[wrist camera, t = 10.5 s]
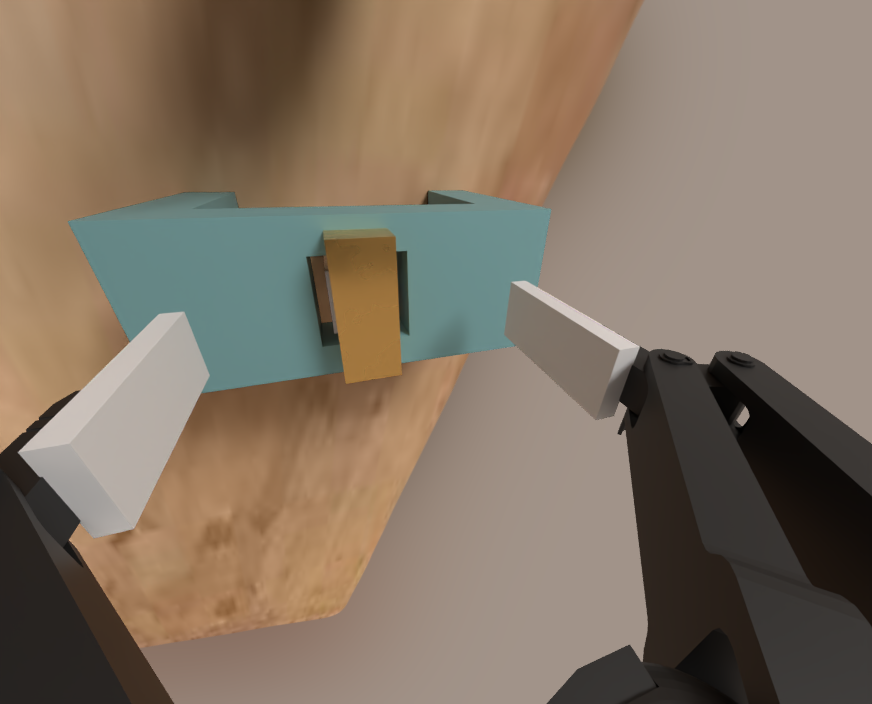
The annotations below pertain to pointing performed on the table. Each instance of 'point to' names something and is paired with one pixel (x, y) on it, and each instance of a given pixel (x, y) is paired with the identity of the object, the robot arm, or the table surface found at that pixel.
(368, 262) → the golden orange block
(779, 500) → the robot arm
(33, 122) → the table surface
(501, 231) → the teal slotted arch
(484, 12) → the table surface
